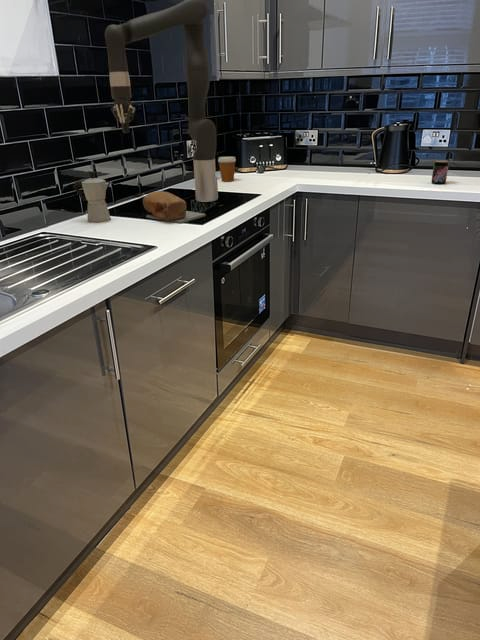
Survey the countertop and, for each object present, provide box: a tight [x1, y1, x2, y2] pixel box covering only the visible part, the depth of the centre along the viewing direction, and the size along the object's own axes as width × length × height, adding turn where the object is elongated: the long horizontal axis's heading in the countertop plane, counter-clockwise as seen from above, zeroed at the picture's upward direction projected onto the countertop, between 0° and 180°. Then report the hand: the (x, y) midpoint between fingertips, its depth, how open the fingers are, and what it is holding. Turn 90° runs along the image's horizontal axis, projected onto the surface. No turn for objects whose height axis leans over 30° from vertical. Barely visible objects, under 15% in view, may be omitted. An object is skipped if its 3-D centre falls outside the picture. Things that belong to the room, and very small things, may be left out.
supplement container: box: [430, 159, 450, 186], centre depth 234 cm, size 7×7×10 cm
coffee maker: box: [73, 170, 112, 224], centre depth 180 cm, size 15×9×18 cm, turn 74°
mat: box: [145, 210, 207, 225], centre depth 186 cm, size 14×18×1 cm
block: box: [142, 190, 187, 221], centre depth 183 cm, size 11×8×20 cm
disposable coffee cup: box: [217, 156, 237, 183], centre depth 255 cm, size 10×10×12 cm
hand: (126, 132), depth 195 cm, fingers closed
